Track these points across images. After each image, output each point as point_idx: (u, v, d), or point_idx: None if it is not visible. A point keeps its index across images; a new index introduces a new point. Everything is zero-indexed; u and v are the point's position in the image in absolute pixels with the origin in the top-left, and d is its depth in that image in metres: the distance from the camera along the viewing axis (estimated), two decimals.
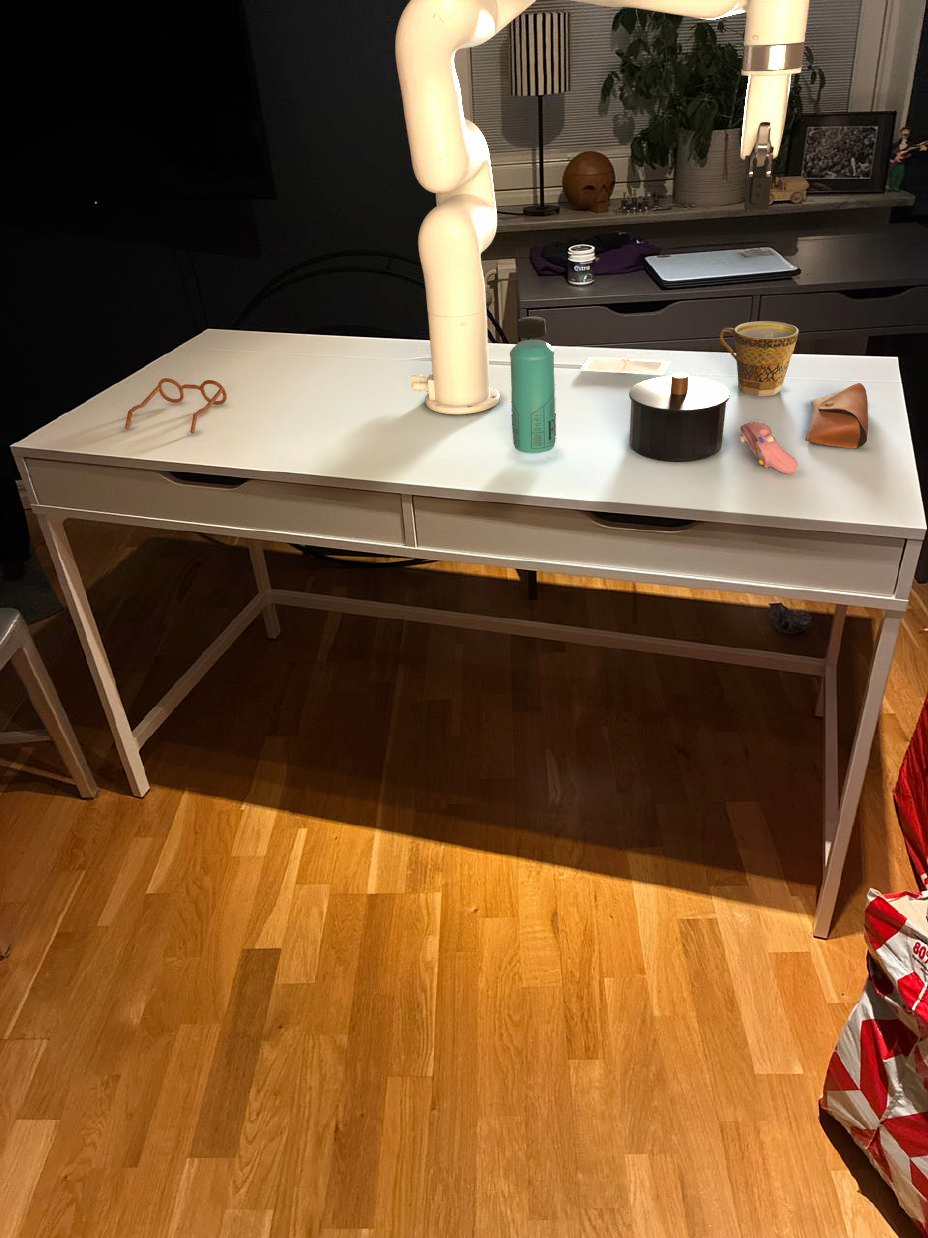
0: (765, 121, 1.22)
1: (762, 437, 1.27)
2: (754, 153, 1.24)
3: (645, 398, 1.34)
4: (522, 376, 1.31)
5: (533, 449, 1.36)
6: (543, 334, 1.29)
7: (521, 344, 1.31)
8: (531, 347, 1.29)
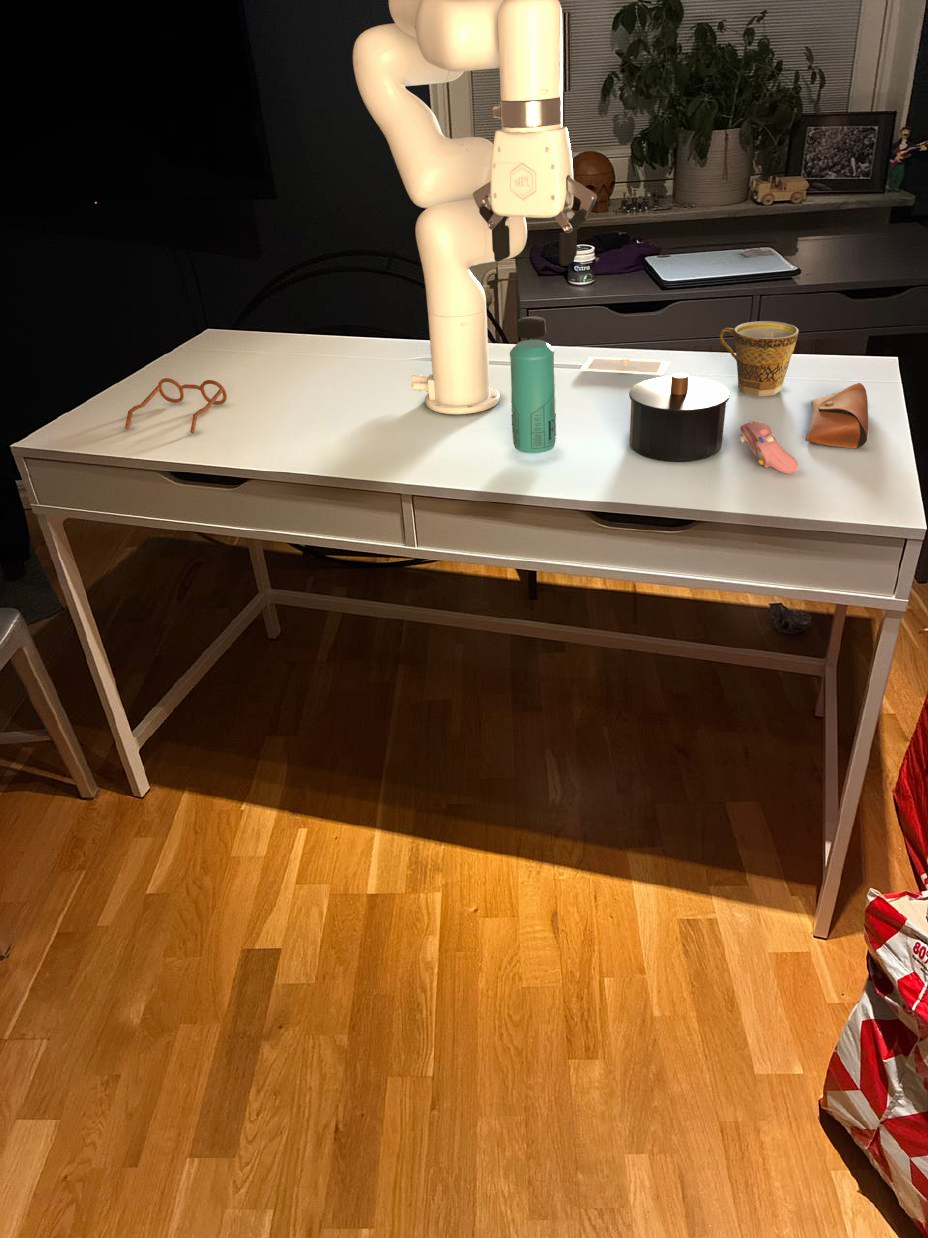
0: (567, 174, 1.17)
1: (762, 437, 1.27)
2: None
3: (645, 398, 1.34)
4: (522, 376, 1.31)
5: (533, 449, 1.36)
6: (543, 334, 1.29)
7: (521, 344, 1.31)
8: (531, 347, 1.29)
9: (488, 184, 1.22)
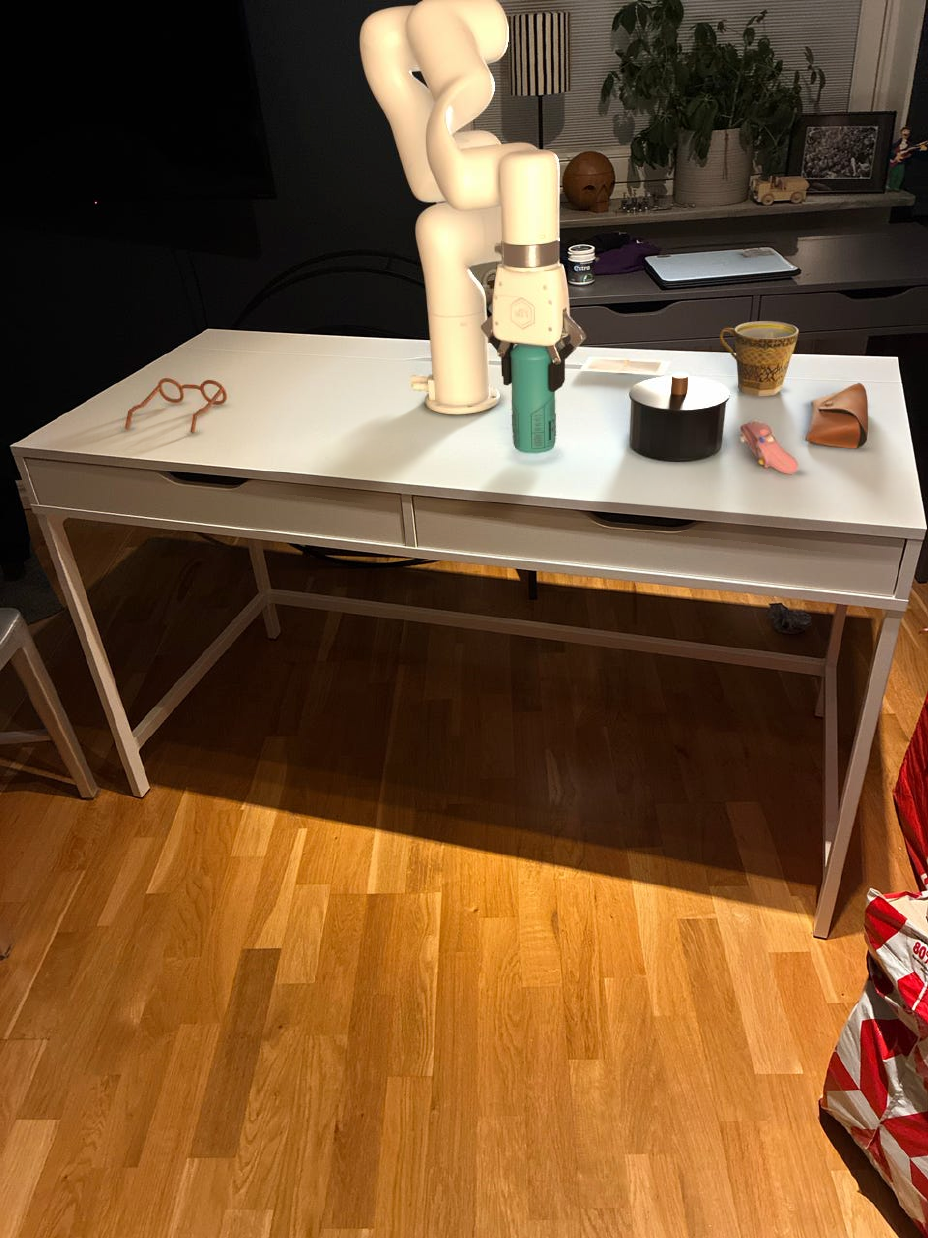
0: (563, 307, 1.26)
1: (762, 437, 1.27)
2: None
3: (645, 398, 1.34)
4: (523, 376, 1.31)
5: (533, 449, 1.36)
6: None
7: (522, 344, 1.31)
8: (532, 347, 1.29)
9: None
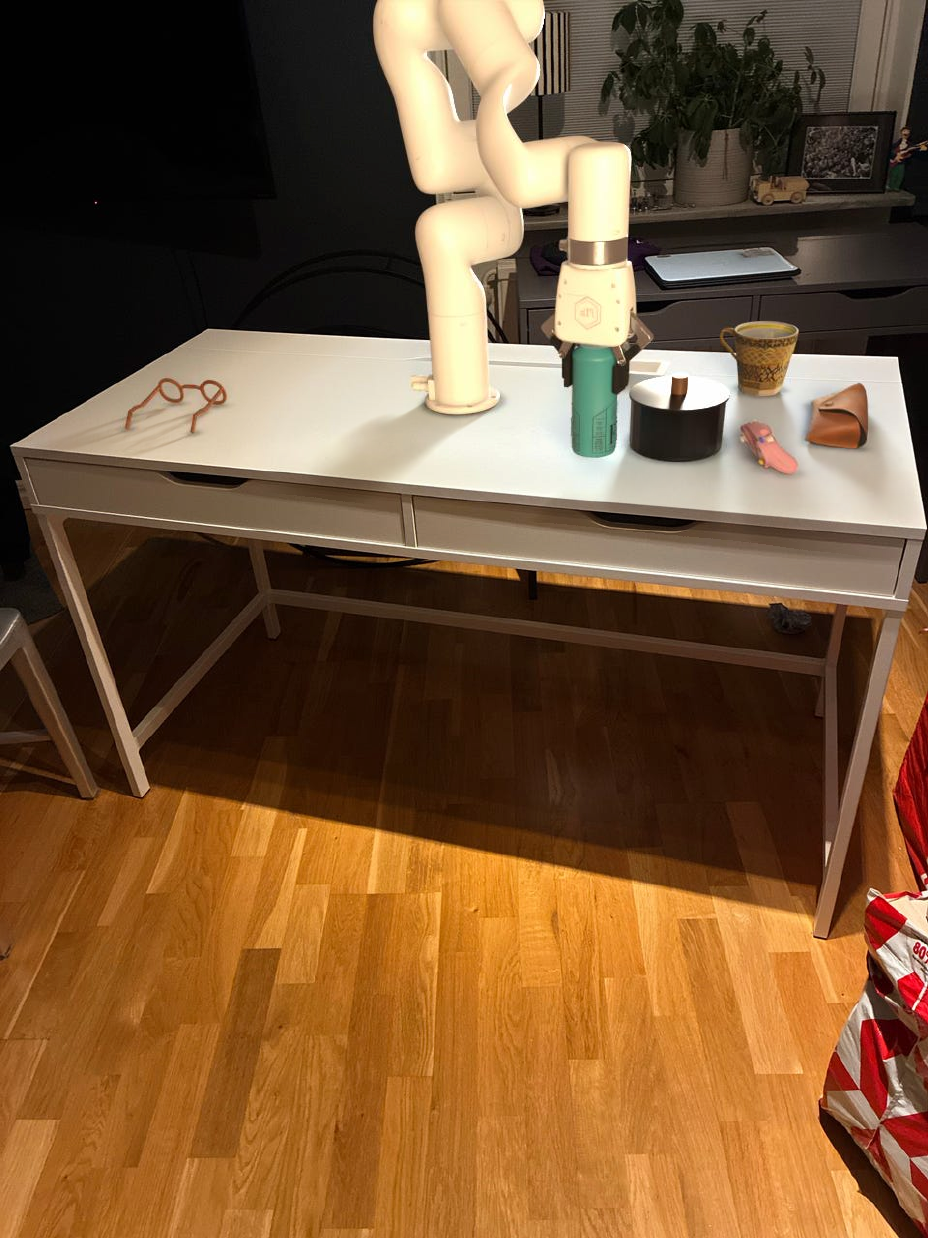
0: (631, 306, 1.21)
1: (762, 437, 1.27)
2: None
3: (645, 398, 1.34)
4: (586, 378, 1.26)
5: (594, 453, 1.31)
6: None
7: (584, 345, 1.26)
8: (595, 348, 1.25)
9: (554, 315, 1.26)
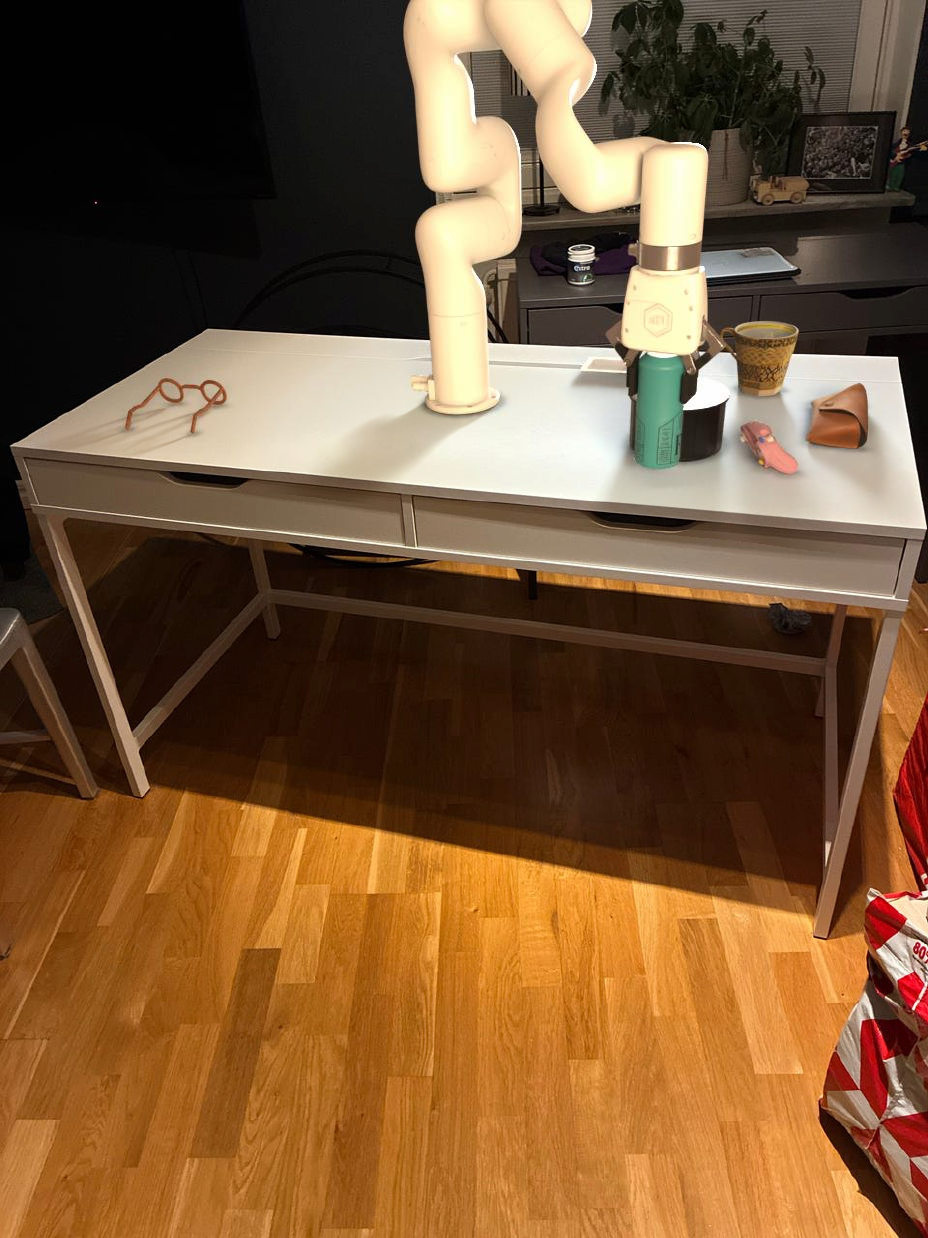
0: (703, 314, 1.16)
1: (762, 437, 1.27)
2: None
3: None
4: (653, 387, 1.21)
5: (658, 465, 1.27)
6: None
7: (652, 353, 1.22)
8: (664, 356, 1.20)
9: (620, 322, 1.22)
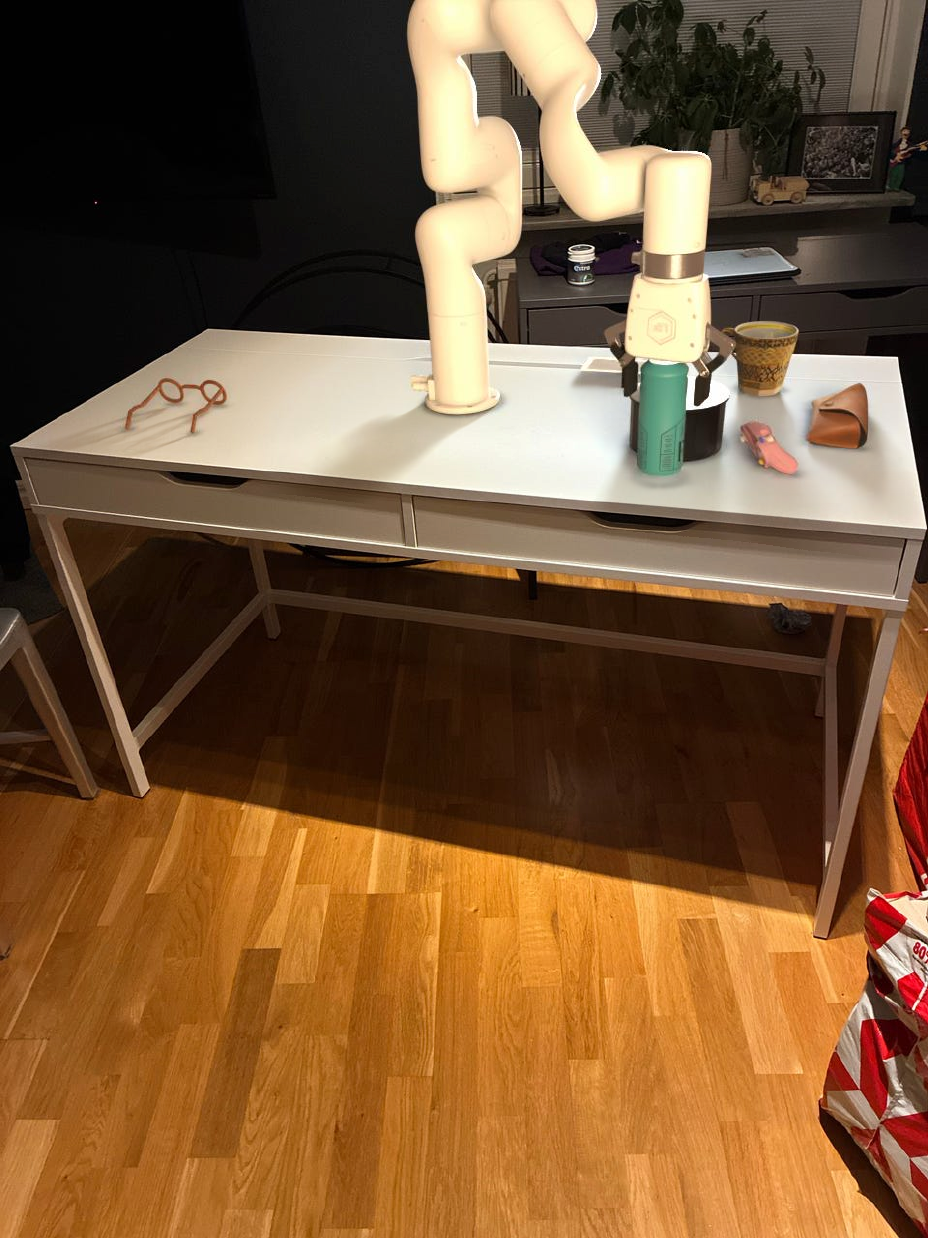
0: (706, 321, 1.17)
1: (762, 437, 1.27)
2: None
3: None
4: (655, 394, 1.22)
5: (661, 471, 1.27)
6: None
7: (653, 360, 1.22)
8: (666, 363, 1.21)
9: (621, 324, 1.22)
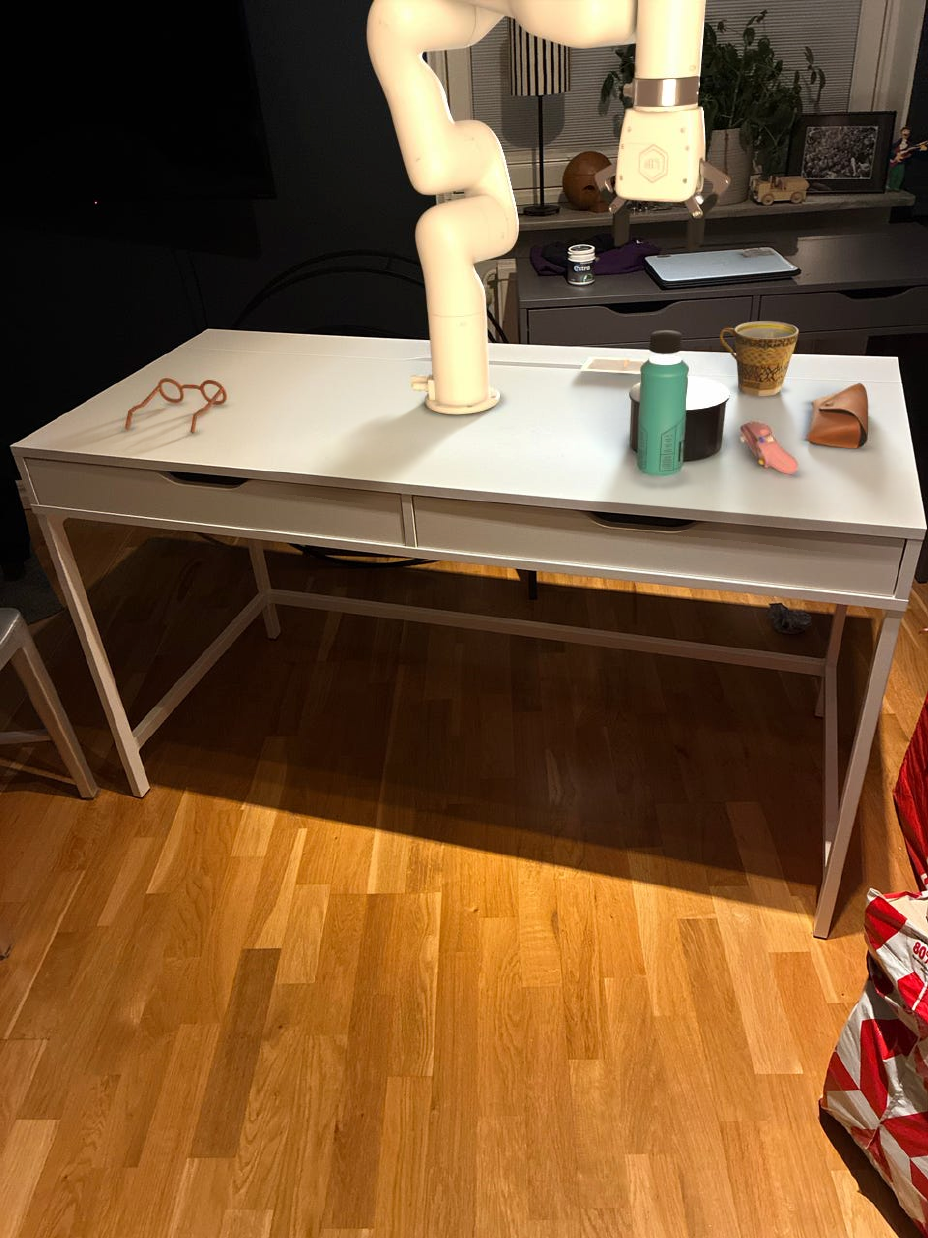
0: (700, 157, 1.12)
1: (762, 437, 1.27)
2: None
3: None
4: (655, 394, 1.22)
5: (661, 471, 1.27)
6: (679, 349, 1.20)
7: (653, 360, 1.22)
8: (666, 363, 1.21)
9: (612, 165, 1.17)
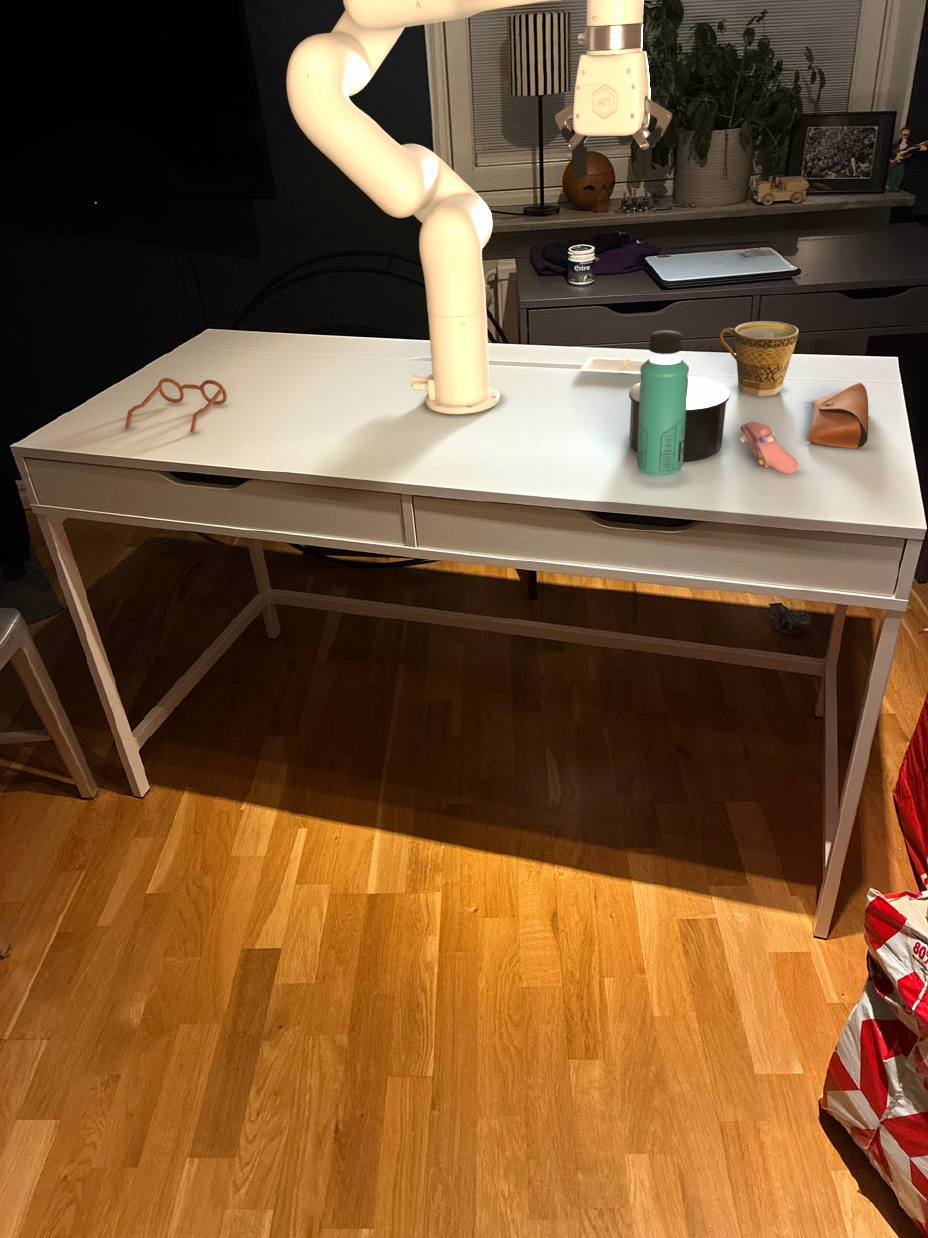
0: (645, 95, 1.29)
1: (762, 437, 1.27)
2: None
3: None
4: (655, 394, 1.22)
5: (661, 471, 1.27)
6: (679, 349, 1.20)
7: (653, 360, 1.22)
8: (666, 363, 1.21)
9: (570, 106, 1.34)
